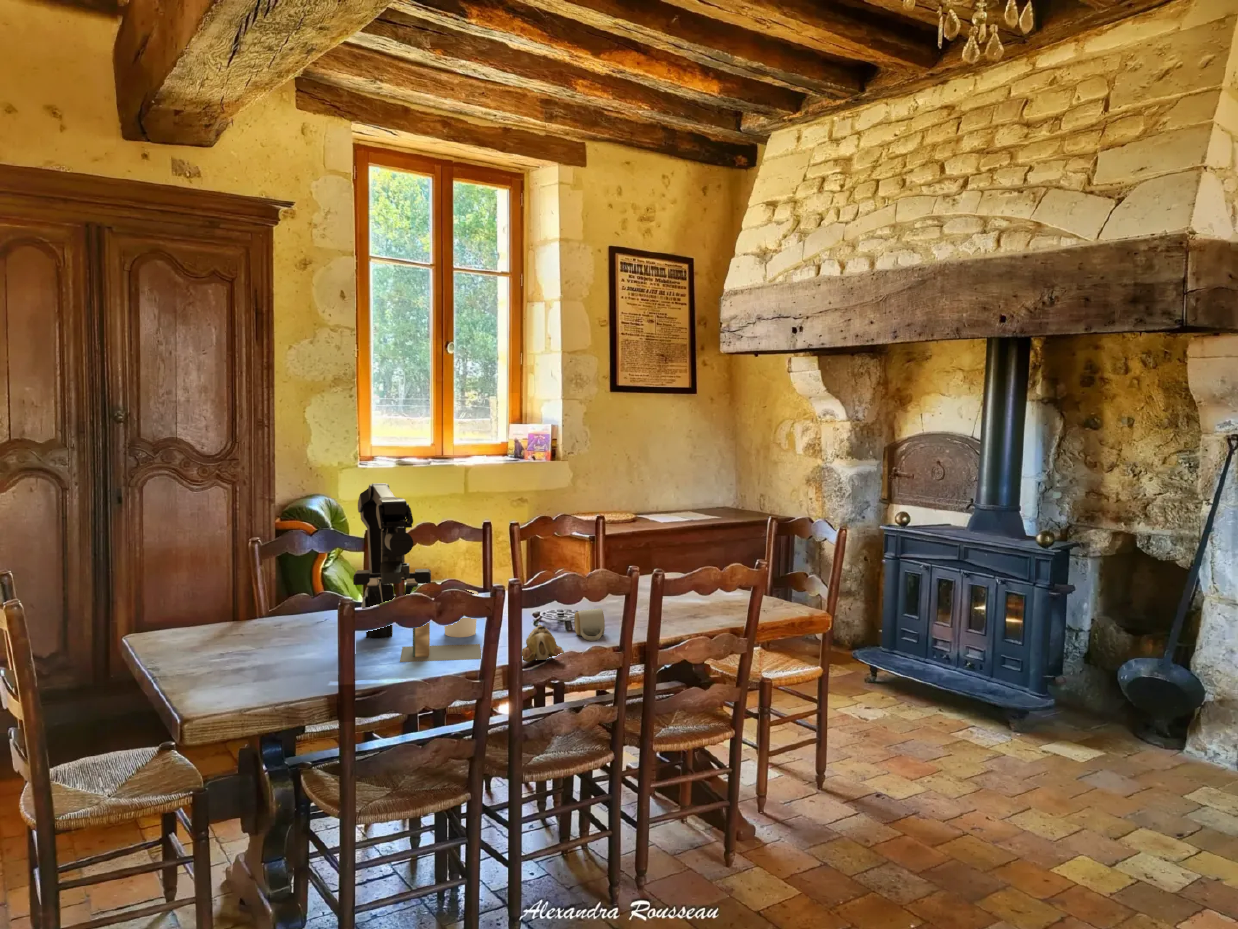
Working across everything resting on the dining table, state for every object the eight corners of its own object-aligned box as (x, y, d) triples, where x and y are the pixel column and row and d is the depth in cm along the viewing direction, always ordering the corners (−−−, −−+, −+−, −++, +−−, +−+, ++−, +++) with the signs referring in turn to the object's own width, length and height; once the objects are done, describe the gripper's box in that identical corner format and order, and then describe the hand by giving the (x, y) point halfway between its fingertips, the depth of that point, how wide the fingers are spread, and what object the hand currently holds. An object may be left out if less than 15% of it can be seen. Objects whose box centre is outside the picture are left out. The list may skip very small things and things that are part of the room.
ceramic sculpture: (560, 617, 235) (565, 635, 220) (560, 649, 236) (565, 669, 221) (519, 619, 233) (521, 637, 218) (519, 651, 234) (521, 671, 219)
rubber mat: (399, 665, 220) (399, 662, 220) (402, 649, 234) (402, 646, 234) (481, 662, 224) (481, 658, 224) (480, 647, 237) (480, 644, 237)
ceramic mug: (573, 632, 254) (573, 606, 254) (600, 631, 256) (600, 605, 255) (579, 642, 244) (579, 615, 244) (607, 641, 246) (608, 614, 245)
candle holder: (482, 632, 253) (482, 590, 252) (473, 641, 243) (473, 597, 242) (448, 631, 254) (448, 589, 253) (437, 640, 244) (437, 596, 243)
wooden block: (412, 657, 224) (412, 617, 224) (413, 650, 230) (413, 612, 230) (429, 656, 225) (429, 617, 224) (429, 649, 231) (429, 611, 230)
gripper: (350, 555, 215) (351, 619, 216) (430, 553, 218) (430, 617, 219) (355, 547, 226) (355, 609, 227) (431, 546, 229) (431, 606, 230)
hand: (393, 610), depth 226 cm, fingers open, 5 cm apart
